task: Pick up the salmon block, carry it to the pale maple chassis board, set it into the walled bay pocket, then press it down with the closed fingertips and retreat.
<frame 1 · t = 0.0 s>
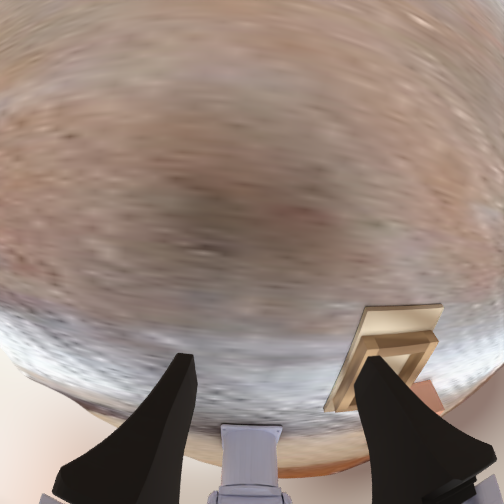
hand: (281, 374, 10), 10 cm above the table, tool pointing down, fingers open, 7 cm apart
salmon block: (409, 395, 28), on the table
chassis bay: (379, 365, 25), on the table
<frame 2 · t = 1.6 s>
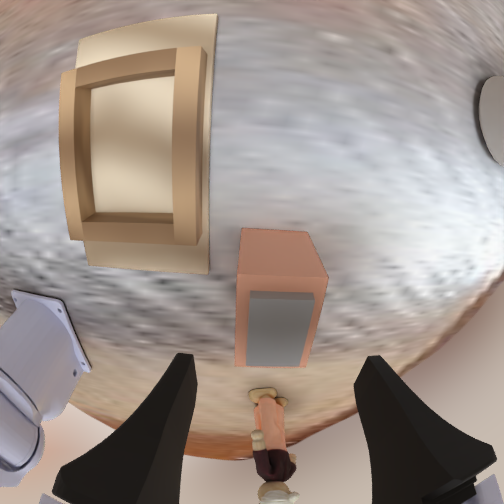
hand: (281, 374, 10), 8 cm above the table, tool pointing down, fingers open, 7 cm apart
salmon block: (270, 272, 18), on the table
grandmother figurine: (270, 399, 24), on the table
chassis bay: (136, 146, 14), on the table
can: (497, 120, 12), on the table
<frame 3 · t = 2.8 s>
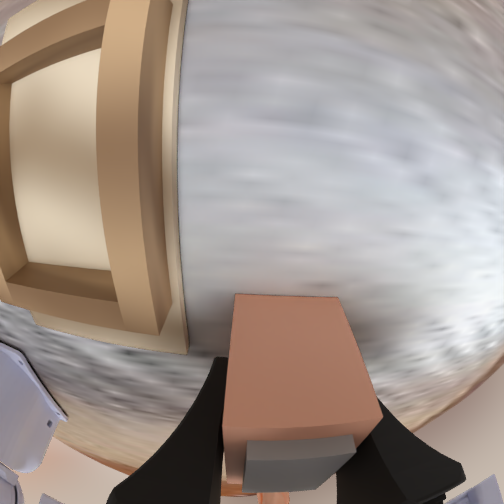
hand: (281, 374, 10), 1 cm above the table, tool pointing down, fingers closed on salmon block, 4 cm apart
salmon block: (279, 350, 11), on the table, touching gripper
grandmother figurine: (273, 458, 18), on the table
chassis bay: (66, 163, 8), on the table
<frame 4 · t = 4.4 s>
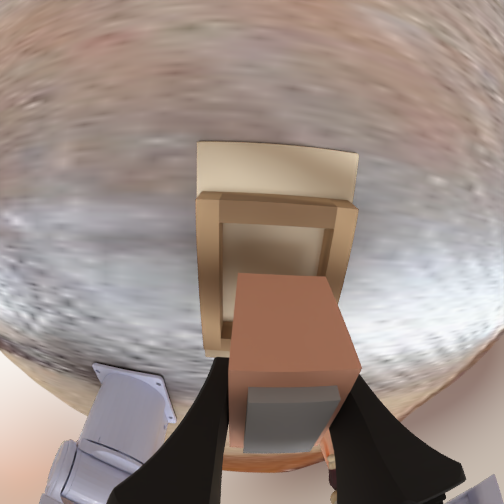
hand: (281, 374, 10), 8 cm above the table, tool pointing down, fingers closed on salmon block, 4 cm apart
salmon block: (275, 325, 13), point 5 cm above the table, touching gripper
grandmother figurine: (330, 426, 28), on the table
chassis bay: (269, 270, 18), on the table
when the fingers open (3 cm above the table, at t = 5.8 s): salmon block stays where it is, resting on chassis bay.
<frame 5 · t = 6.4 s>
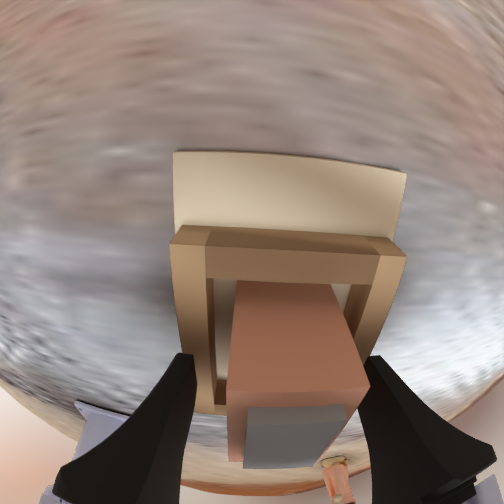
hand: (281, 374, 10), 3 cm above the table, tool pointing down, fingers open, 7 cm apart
salmon block: (277, 334, 13), point 1 cm above the table, touching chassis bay
grandmother figurine: (336, 460, 23), on the table
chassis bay: (276, 324, 13), on the table
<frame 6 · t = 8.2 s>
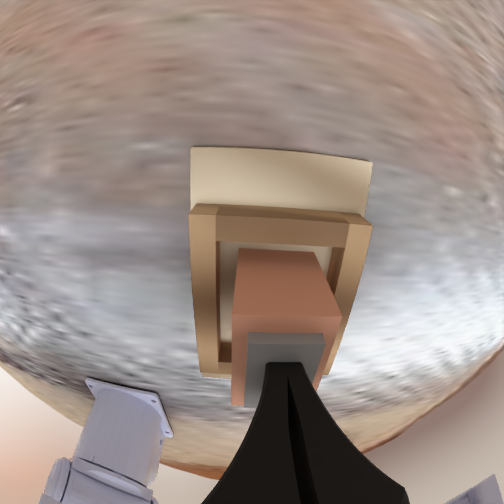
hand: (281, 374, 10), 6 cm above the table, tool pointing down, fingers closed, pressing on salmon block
salmon block: (271, 297, 16), point 1 cm above the table, touching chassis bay, gripper
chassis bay: (271, 289, 16), on the table
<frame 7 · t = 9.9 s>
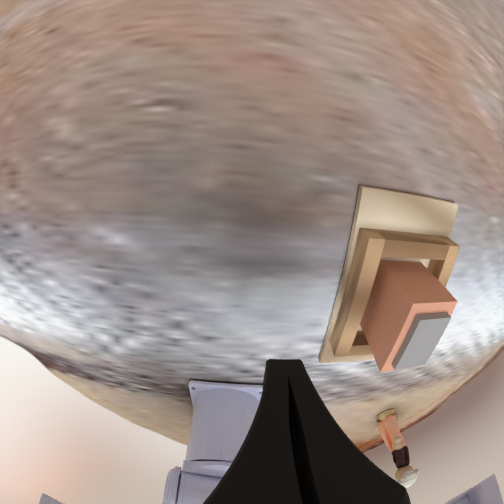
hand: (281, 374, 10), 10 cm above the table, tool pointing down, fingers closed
salmon block: (390, 293, 20), point 1 cm above the table, touching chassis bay
grandmother figurine: (387, 415, 31), on the table
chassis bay: (388, 288, 20), on the table
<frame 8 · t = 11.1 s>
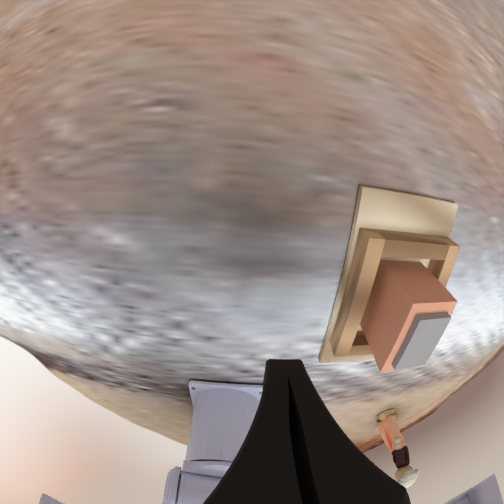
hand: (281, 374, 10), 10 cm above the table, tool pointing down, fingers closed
salmon block: (390, 293, 20), point 1 cm above the table, touching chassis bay
grandmother figurine: (387, 415, 31), on the table
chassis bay: (388, 288, 20), on the table
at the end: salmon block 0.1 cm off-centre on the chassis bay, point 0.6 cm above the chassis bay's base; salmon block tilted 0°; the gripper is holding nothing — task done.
